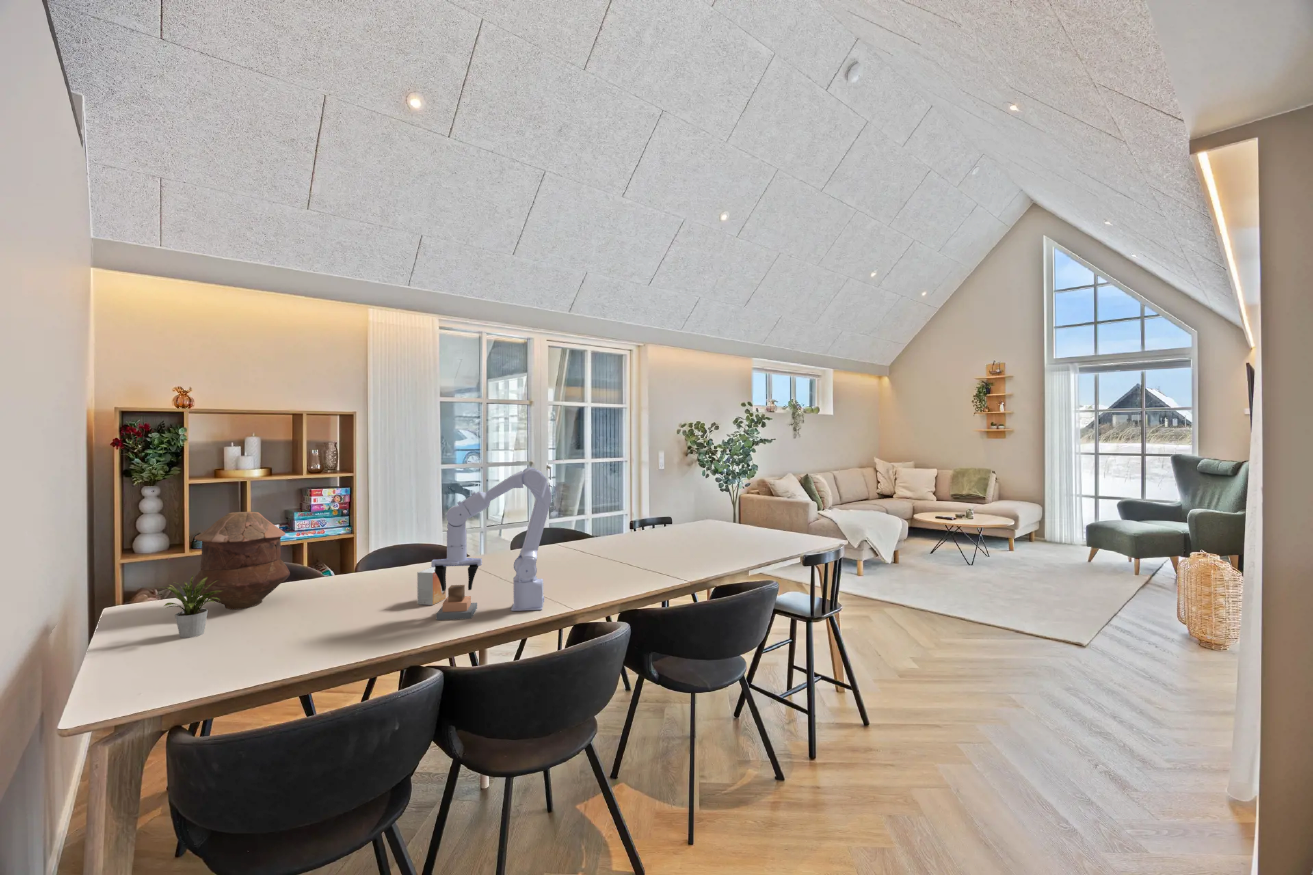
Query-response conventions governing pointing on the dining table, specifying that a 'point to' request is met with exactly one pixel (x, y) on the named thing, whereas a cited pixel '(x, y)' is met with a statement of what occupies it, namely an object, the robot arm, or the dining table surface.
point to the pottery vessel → (241, 559)
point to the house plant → (192, 609)
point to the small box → (429, 587)
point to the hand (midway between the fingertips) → (457, 589)
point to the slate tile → (457, 613)
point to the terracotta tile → (457, 605)
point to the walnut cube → (456, 593)
